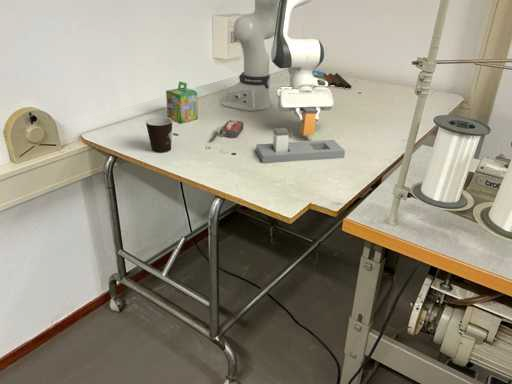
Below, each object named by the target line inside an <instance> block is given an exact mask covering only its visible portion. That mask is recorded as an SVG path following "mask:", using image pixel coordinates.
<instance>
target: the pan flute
mask: <svg viewBox="0 0 512 384" xmlns="http://www.w3.org/2000/svg"><path fill="white" fill-rule="evenodd" d="M313 74H315V75H318V74H317V73H313ZM323 78H325V79H326V81H327V82H328V84H329V85H335V87H336V86H337V87H343V86H344V87H345V88H351V89H352V85H351V84H350V83H349V82H348V81H347V80H345V79H344V78H343V77H342V76H341V75H340V74H339V73H338V72H336V73H335V74H333V73H331V72H330V73H329V74H327V73H326V72H324V74H323ZM329 85H328V86H329ZM337 87H336V88H337ZM344 87H343V88H344ZM345 88H344V89H345Z"/></svg>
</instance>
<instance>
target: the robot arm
mask: <svg viewBox="0 0 512 384" xmlns="http://www.w3.org/2000/svg"><path fill="white" fill-rule="evenodd" d="M312 1H313V0H254V11H253V13H252V12H251V13H246V14H243V15H241V16H239V17H238V18H237V19H235V22H234V24H233V34H234V36H235V38H236V39H237V40H238V41H239V43H240V46H241V49H242V55H243V72H241V74H240V75H238V80H239V81H238V82H237V83H235V84H234V85H233V86H232V87H230V88H229V90H227V94H226V98H224V99H223V100H222V102H221V106H222V107H227V108H230V109H231V108H232V109H235V110H242V111H246V112H252V111H253V112H254V111H259V110H260V111H263V110H267V109H269V108H271V107H272V104H271V99H270V85H271V84H270V83H271V78H270V77H271V76H270V59H271V62H272V63H273V64H274V65H275V66H276V67H277V68H278V69H280V70H281V69H288V70H287V71H288V74H289V77H290V78H289V82H290V86H279V87H278V88H277V89H276V96H277V98H278V101H277V103H278V104H277V105H278V110H279V111H280V112H282V113H284V112H285V113H286V112H293V113H294V115H295V116H296V117H297V118H298V122H299V123H301V122H303V121H304V115H302V113H300V112H302V108H309V107H313V108H314V109H316V110H317V114H316V122H319V115H320V112H321V111H324V112H325V111H331V110H332V109H333V107H334V105H335V102H334V98H333V94H332V91H331V89H330V88H328V87H329V85H328V82H327V81H324V80H321V79H318V78H315V77H314V76H313V73H312V72H313V70H314V71H315V70H316V69H317V68H319V66H320V65H321V64H322V63H323V61H324V59H325V48H324V46H323V44H322V42H321V41H320V40H319V39H318V38H310V37H308V38H306V37H305V38H295V37H294V38H293V37H289V34H288V33H289V27H290V26H289V25H290V19H291V13H292V11H293V10H295V9H296V8H299V7H301V6H304V5H307V4H309V3H310V2H312ZM271 38H273V41H272V45H271V46H272V47H271V51H270V52H271V53H270V55H269V53H268V52H267V50H266V47H265V40H269V39H271ZM270 57H271V58H270Z"/></svg>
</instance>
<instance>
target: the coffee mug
mask: <svg viewBox="0 0 512 384" xmlns="http://www.w3.org/2000/svg"><path fill="white" fill-rule="evenodd" d="M145 125H146V129H147V134H148V139H149V143H150V147H151V151H152V152H154V153H157V154H161V153H163V154H165V153H168V152H170V151H171V150H172V136H173V134H172V133H173V120H172V119H170V118H167V117H166V116H154V117H150V118H148V119H146V120H145Z"/></svg>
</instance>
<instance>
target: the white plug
mask: <svg viewBox="0 0 512 384" xmlns="http://www.w3.org/2000/svg"><path fill="white" fill-rule="evenodd" d="M289 135H290V131H288V129H287V128H286V127H280V128H279V127H277V128H275V127H274V128H273V135H272V136H273V137H272V138H273V140H272V141H273V142H272V143H273V151H274V153H275V152H288V142H289Z"/></svg>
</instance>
